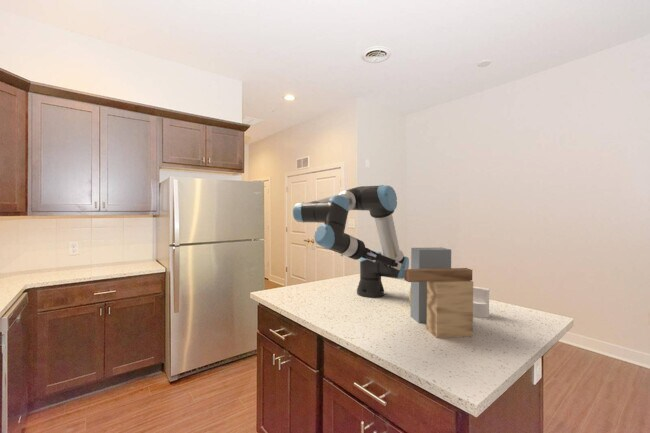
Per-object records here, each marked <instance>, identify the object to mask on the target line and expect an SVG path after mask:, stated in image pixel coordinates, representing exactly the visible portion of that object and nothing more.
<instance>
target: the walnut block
mask: <svg viewBox="0 0 650 433" xmlns="http://www.w3.org/2000/svg"><path fill="white" fill-rule="evenodd" d="M404 281H405V282H407V283H411V282H435V281H473V269H471V268H468V267H451V268H438V269H411V268H408V269H404Z"/></svg>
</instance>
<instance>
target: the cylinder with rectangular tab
mask: <svg viewBox="0 0 650 433" xmlns="http://www.w3.org/2000/svg"><path fill="white" fill-rule="evenodd" d="M489 317H490V288H487V287H480V286H474V285H473V318H478V319H487V318H489Z"/></svg>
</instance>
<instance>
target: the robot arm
mask: <svg viewBox="0 0 650 433" xmlns="http://www.w3.org/2000/svg"><path fill="white" fill-rule="evenodd" d="M397 200H398V197H397V193H396V191H395V189H394V188H393V187H392V185H391V186H390V185H384V184H381V185H380V184H379V185H365V186H363V185H362V186H357V187H353V188H349V189H346V190H343V191H341V192H340V193H338V194H334V195H331V196H329V197H325V198H321V199H317V200H313V201H308V202H297V203H296V204H294V206H293V208H292V216H293V219H294V220H295V221H296V222H298V223H323V224H320V225H319V226H318V227H317V228H316V231H315V232H314V241H315V243H316V244H317V246H320V247H322V248H324V249H327V250H330V251H333V252H335V253H336V254H337V253H338V254H340V256H341V257H344V256H345V257H347V258H349V259H353V260H355V261H357V260H359V264H360V265H359V268H360V269H359V271H360V272H359V275H360V276H359V277H360V278H359V281H358V282H359V283H358V285H357V288H356V294H357V295H358V296H361V297H364V298H380V297H383V296H385V288H384V285H383V282H382V277H384V278H391V279H401V280H403V279H404V269H410V268H409V267H410V258H409V257H408V256H405V255H404V252H403V251H402V250H401V249H400V246H399V245H400V244H399V242H398V241H399V240H398V236H397V231H396V228H395V227H396V226H395V220H394V217H393V214H394V212H395V211H396V208H397V206H398V201H397ZM350 211H367V212H368V211H369V215H370V216H371V218H373V219H374V221H375V227H376V230H377V234H378V238H379V242H380V246H381V250H382V251H374V250H371V249H370V248H368V247H366V244H365V242H364V241H363V240H360V239H359V238H356V237H354V236H353V235H350V234H347V233H345V231H346V225H347V219H348V215H349V212H350Z"/></svg>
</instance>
